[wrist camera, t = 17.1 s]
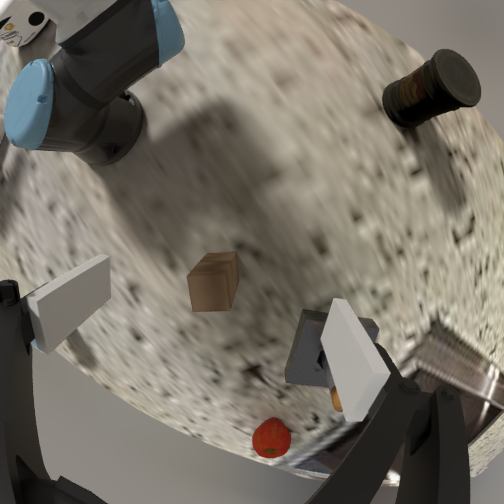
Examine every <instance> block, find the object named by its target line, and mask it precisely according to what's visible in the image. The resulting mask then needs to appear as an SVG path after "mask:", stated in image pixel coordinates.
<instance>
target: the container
mask: <svg viewBox="0 0 504 504" xmlns="http://www.w3.org/2000/svg"><path fill="white" fill-rule="evenodd" d="M480 98H481V86H480V83H479V79H478V77H477V75H476V73H475V71H474V70H473V68H472V67H471V65H470V64H469V63H468V62H467V60H466V59H465V58H464V57H462V56H461V55H460V54H458V53H456V52H455V51H453V50H449V49H441V50H438V51H437V52H435V54H434V55H433V57H432V58H431V60H428V61H426V62H425V63H424V64H423V65H422V66H421V67H419V68H418V69H416V70H415V71H414V72H412V73H411V74H410V75H408V76H406V77H403V78H402V79H400V80H397V81H395V82H393V83H391V84H389V85H388V86H387V87H386V88H385V90H384V93H383V97H382V101H383V106H384V109H385V111H386V113H387V115H388V116H389V117H390V119H391V120H392V121H393V122H395V123H396V124H398V125H399V126H401V127H405V128H414V127H417V126H419V125H421V124H422V123H424V122H425V121H427V120H429V119H431V118H432V117H435V116H438V115H440V114H443V113H446V112H449V111H455V110H458V109H459V108H460V107H473V106H475V105H476V104H477V103H478V102H479V100H480Z"/></svg>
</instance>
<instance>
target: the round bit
mask: <svg viewBox="0 0 504 504" xmlns="http://www.w3.org/2000/svg"><path fill="white" fill-rule="evenodd" d="M320 358H321V361H322V365H323V368H324V372H325V376H326V379H327V383H328V387H329V390H330V394H331V398H332V402H333V406H334V409H335V410H336V411H338V412H343V409H342V406H341V402H340V399H339V396H338V393H337V389H336V386H335V383H334V380H333V376H332V373H331V370H330V367H329V364H328V361H327V357H326V354H325V351H324V350H322V351H321V352H320Z"/></svg>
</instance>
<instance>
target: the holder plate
mask: <svg viewBox="0 0 504 504" xmlns="http://www.w3.org/2000/svg"><path fill="white" fill-rule="evenodd" d="M328 314H329V313H324V312H318V311H311V310H305V309H303V311H302V314H301V318H300V321H299V325H298V328H297V332H296V335H295V339H294V342H293V345H292V349H291V352H290V355H289V358H288V361H287V365H286V368H285V381H286V383H292V384H301V385H312V386H324V387H328V383H327V379H326V376H325V372H324V368H323V365H322V361H321V358H320V357H319V354H320V352H321V351H322V350H324V348H323V345H322V342H321V336H322V333H323V330H324V327H325V324H326V321H327V318H328ZM357 318H358V319H359V321H360V323H361V324H362V326H363V328H364V329H365V331H366V332H367V334H368V336H369V337H370V339H371V341H372V342H373V343H374V342H375V339H376V337H377V334H378V332H379V328H378V326H377V325H376V323H375V322H374V321H373V319H368V318H360V317H357Z"/></svg>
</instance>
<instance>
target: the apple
mask: <svg viewBox="0 0 504 504" xmlns="http://www.w3.org/2000/svg"><path fill="white" fill-rule="evenodd" d="M290 443H291V435H290V432H289V430H288V428H287V427H286V426H285V425H284V424H283V423H282V422H281V421H279V420H278V419H276V418H270V419H268V420H266V421H265V422H264V423H262V424H261V425H260V426H259V427H258V428H257V429H256V430H255V432H254V434H253V436H252V445H253V448H254V450H255V451H256V452H257V454H258V455H260V456H261V457H265V458H276V457H279V456H282V455H284V454H285V453H286V452H287V451H288V449H289V448H290Z"/></svg>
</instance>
